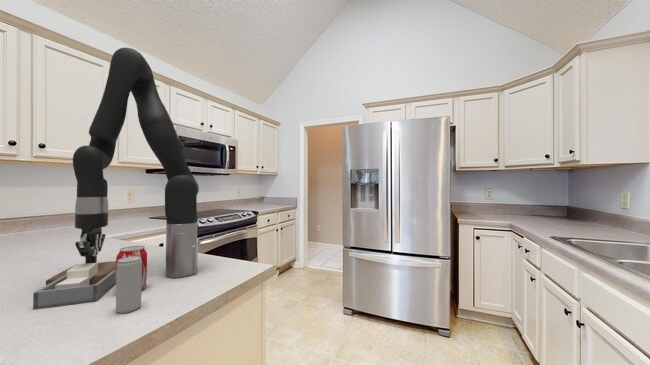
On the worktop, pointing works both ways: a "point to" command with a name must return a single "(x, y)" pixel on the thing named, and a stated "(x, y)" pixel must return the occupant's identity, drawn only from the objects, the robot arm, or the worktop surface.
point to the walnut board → (103, 271)
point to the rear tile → (83, 270)
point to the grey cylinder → (128, 284)
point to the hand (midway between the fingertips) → (91, 268)
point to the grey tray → (72, 293)
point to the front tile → (73, 283)
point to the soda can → (133, 252)
